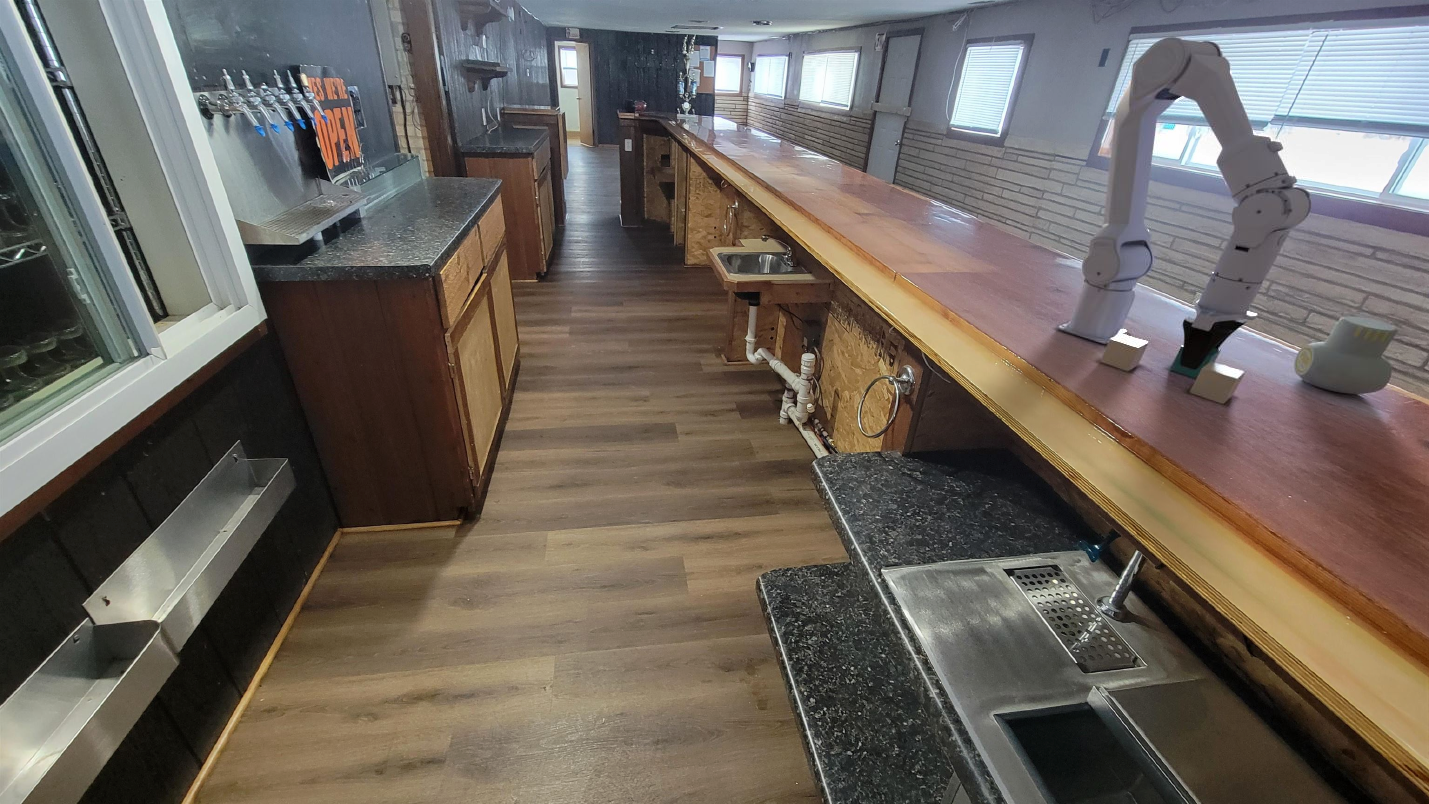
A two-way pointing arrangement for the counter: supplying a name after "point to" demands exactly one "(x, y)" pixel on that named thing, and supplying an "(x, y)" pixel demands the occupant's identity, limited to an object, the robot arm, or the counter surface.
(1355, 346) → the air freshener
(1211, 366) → the line block
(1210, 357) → the teal block
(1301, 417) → the counter surface
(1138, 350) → the line block
